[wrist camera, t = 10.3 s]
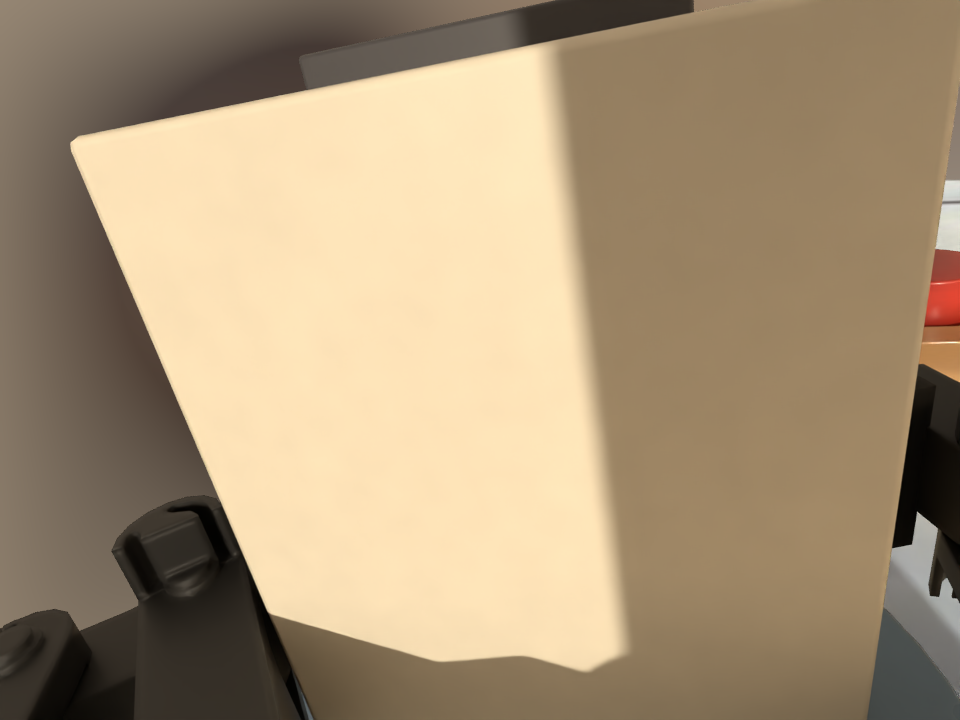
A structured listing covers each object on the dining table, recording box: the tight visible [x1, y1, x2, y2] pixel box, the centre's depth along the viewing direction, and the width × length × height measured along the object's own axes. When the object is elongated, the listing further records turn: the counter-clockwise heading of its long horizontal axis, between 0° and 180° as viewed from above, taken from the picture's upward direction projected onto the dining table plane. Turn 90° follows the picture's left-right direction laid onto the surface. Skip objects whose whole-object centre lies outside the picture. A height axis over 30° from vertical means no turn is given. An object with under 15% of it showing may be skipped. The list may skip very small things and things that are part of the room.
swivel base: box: [302, 607, 960, 720], centre depth 12 cm, size 13×13×2 cm
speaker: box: [70, 0, 960, 720], centre depth 10 cm, size 9×8×12 cm
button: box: [924, 249, 960, 327], centre depth 20 cm, size 4×4×2 cm
